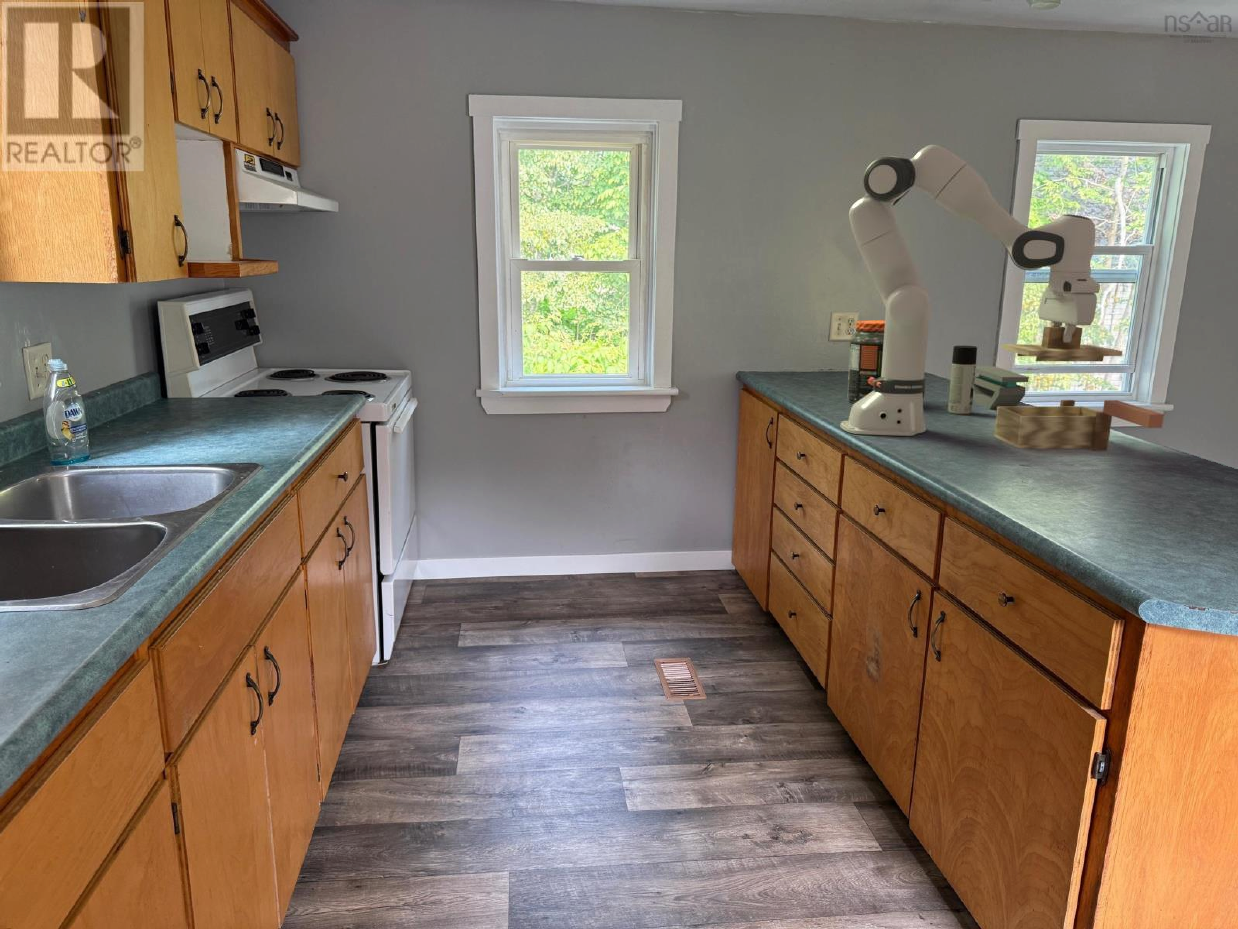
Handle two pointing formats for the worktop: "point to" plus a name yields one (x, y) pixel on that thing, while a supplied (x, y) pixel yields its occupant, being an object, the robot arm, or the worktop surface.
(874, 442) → the worktop surface
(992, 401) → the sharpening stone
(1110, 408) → the bar
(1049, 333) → the toolbox lid
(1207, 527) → the worktop surface
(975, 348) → the spray can
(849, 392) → the supplement tub
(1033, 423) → the toolbox
